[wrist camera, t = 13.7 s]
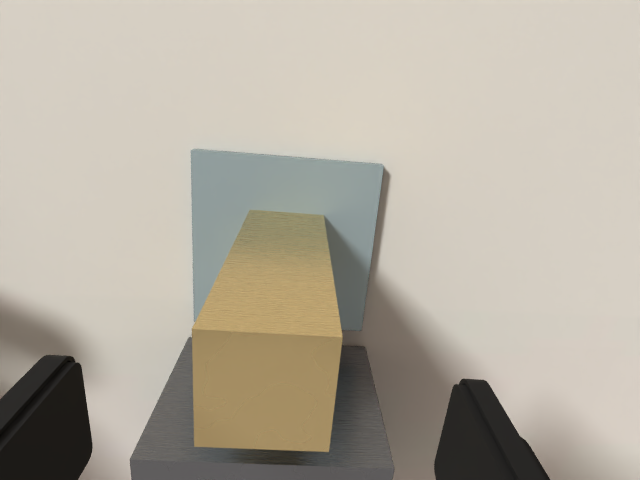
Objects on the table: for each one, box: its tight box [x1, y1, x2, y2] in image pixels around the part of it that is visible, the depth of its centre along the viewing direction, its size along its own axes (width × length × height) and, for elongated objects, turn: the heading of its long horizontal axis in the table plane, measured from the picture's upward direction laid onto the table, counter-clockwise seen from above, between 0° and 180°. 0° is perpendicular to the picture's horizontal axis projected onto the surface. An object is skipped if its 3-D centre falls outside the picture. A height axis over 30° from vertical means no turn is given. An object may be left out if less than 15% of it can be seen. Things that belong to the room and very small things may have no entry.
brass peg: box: [192, 210, 343, 452], centre depth 17 cm, size 4×4×12 cm
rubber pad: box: [191, 149, 384, 331], centre depth 23 cm, size 10×10×1 cm
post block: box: [130, 337, 394, 480], centre depth 23 cm, size 11×11×9 cm
